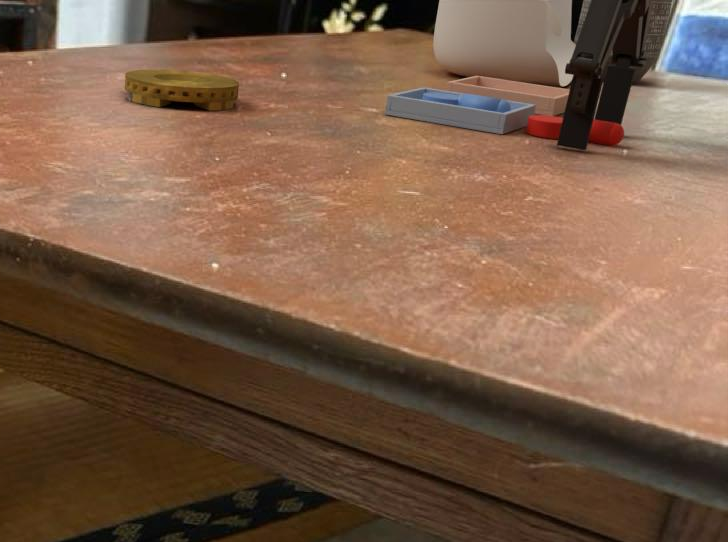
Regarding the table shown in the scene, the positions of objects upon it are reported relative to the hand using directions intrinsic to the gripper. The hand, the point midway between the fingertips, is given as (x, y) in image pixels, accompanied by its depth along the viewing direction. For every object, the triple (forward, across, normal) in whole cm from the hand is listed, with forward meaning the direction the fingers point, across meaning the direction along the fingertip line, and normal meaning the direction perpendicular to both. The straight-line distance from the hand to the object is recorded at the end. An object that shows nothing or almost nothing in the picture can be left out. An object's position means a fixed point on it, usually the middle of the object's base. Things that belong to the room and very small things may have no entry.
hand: (589, 139), depth 114 cm
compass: (+1, +18, -39) cm, 42 cm away
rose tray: (0, -18, -14) cm, 23 cm away
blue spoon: (0, 0, -13) cm, 13 cm away
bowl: (+1, -42, -24) cm, 48 cm away
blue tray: (0, 0, -14) cm, 14 cm away
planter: (+1, -60, -13) cm, 62 cm away
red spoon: (0, 0, -1) cm, 1 cm away
